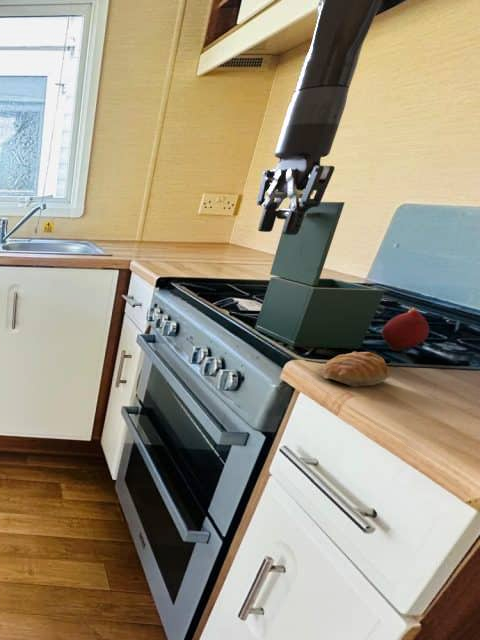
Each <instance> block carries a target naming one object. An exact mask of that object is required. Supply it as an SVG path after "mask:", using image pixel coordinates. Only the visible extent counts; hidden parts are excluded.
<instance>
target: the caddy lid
mask: <svg viewBox="0 0 480 640" xmlns="http://www.w3.org/2000/svg"><path fill="white" fill-rule="evenodd" d="M300 201H301V200H299V202H300ZM344 206H345V201H341V202H340V201H321V202H320V204H319V206H317V207H312V208H310V209H309V210H308V211H306V213H305V216H304V219H303V222H302V224H301V228H300V230H299V232H298V233H297V234H296V235H287V234H283V229H284V226H285V223H286V220H287V217H288V213H289V211H292V210H291V201H290V202H289V205H288V208H285V207H283V208H279V209H277V210H278V212H277V214H276V219H278V220H284V222H283V226H282V229H281V233H280V237H279V240H278V244H277V248H276V250H275V255H274V258H273V262H272V265H271V269H270V273H269V275H270V276H273V277H282V278H286V279H289V280H293V281H297V282H301V283H305V284H308V285H312V286H317V285H318V282H319V279H320V278H321V275H322V272H323V269H324V267H325V264H326V260H327V257H328V254H329V251H330V249H331V246H332V242H333V239H334V237H335V233H336V229H337V227H338V224H339V222H340V218H341V215H342V212H343V209H344Z"/></svg>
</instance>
